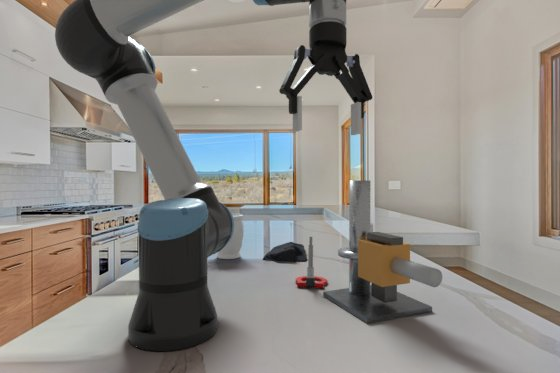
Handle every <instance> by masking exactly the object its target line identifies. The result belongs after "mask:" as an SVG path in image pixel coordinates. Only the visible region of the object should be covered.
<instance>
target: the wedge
mask: <svg viewBox="0 0 560 373" xmlns="http://www.w3.org/2000/svg"><path fill="white" fill-rule="evenodd" d="M367 240H371V241H372V242H375V243H378V244H382V245H390V246H393V245H403V243H404V237H403V236H400V235H395V234H394V235H393V234H390V233H384V232H381V231H373V232H369V233H367ZM370 285H371V296H372V297H374V298H376V299H378V300H380V301H382V302H384V303H387V302H393V301H397V292H398V285H393V286H386V287H381V286H378V285H376V284H374V283H372V282H370Z"/></svg>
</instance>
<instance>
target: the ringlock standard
mask: <svg viewBox="0 0 560 373" xmlns="http://www.w3.org/2000/svg"><path fill="white" fill-rule="evenodd" d="M348 182H349V186H348V187H349V190H348V191H349V195H348V199H349V202H348V203H349V204H348V206H349V207H348V208H349V210H348V212H349V213H348V216H349V217H348V218H349V222H348V223H349V224H348V226H349V228H348V235H349V236H348V237H349V241H348V242H349V245H348V246H345V247H341V248H340V247H339V249H338V250H337V256H339V257H340V258H343V259H348V260H349V261H348V266H349V267H348V270H349V271H348V274H349V275H348V288H341V289H333V290H325V291H323V292H322V294H323V297H325V298H326V299H328V300H329V301H331V302H332V303H333V304H335V303H336V304H335V305H337V306H338V307H340V308H342V309H343V308H344V309H343V310H345V311H346V310H347V311H346V312H348V313H349V314H351V315H353V316H354V317H356V318H357V319H359V320H361V321H362V322H364V323H365V324H372V323H377V322H383V321H389V320H393V319H394V320H395V319H399V318H405V317H406V318H407V317H411V316H416V315H421V314H427V313H433V306H432V305H429V304H426V303H425V302H421V301H420V300H417V299H415V298H412V297H410V296H408V295H406V294H405V293H404V294H403V293H401V292H399V291H397V301H393V302H387V303H384V302H382V301H380V300H378V299H376V298H374V297H372V296H371V282H369V281H367V280H365V279H363V278H360V277H358V240H365V239H367V233H369V232H370V223H371V179H370V180H364V179H363V180H354V179H353V180H348Z"/></svg>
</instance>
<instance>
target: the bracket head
mask: <svg viewBox="0 0 560 373" xmlns="http://www.w3.org/2000/svg"><path fill="white" fill-rule="evenodd" d="M358 277H360V278H363V279H365V280H367V281H369V282H370V283H371V282H372V283H374V284H376V285H378V286H381V287H386V286H393V285H397V286H398V285H399V286H400V285H407V284H411V280H412V281H416V282H418V283H422V285H426V286H429V287H432V288H437V287H439V286H440V285H441V283H443V282H442V281H443V273H442V270H440V269H438V268H436V267H432V266H428V265H425V264H422V263H419V262H415V261H411V243H406V242H403V245H393V246H390V245H382V244H378V243H375V242H372V241H371V240H367V239H365V240H358Z"/></svg>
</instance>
